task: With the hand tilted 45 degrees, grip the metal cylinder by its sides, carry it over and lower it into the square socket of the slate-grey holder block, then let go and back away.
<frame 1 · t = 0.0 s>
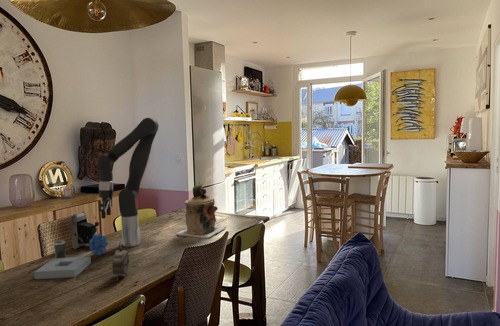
hand: (106, 216, 211), 17 cm above the table, fingers open, 8 cm apart
cookie jar: (201, 232, 234), on the table
metal cylinder: (61, 260, 190), on the table
grapes: (100, 255, 196), on the table
vintage camera: (89, 247, 212), on the table
alarm clock: (122, 277, 163), on the table
holder: (64, 270, 174), on the table
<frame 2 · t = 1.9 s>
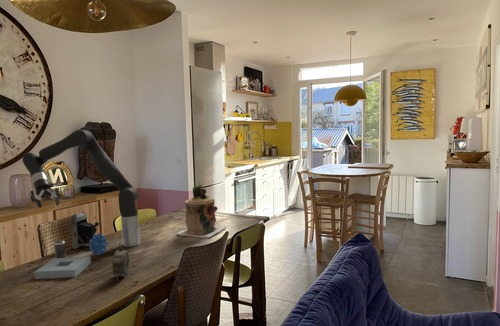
hand: (49, 205, 196), 27 cm above the table, fingers open, 8 cm apart
nothing on the table moved.
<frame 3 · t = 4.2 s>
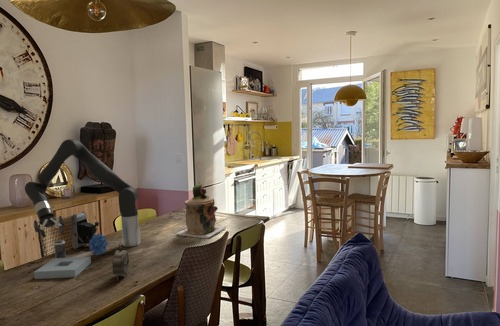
hand: (53, 234, 194), 12 cm above the table, fingers open, 8 cm apart
nothing on the table moved.
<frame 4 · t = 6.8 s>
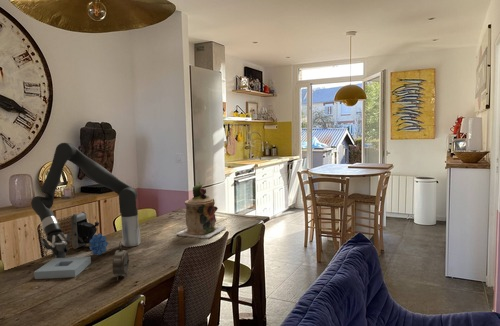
hand: (61, 253, 188), 4 cm above the table, fingers closed on metal cylinder, 4 cm apart
metal cylinder: (61, 260, 190), on the table, touching gripper
everything else where it was.
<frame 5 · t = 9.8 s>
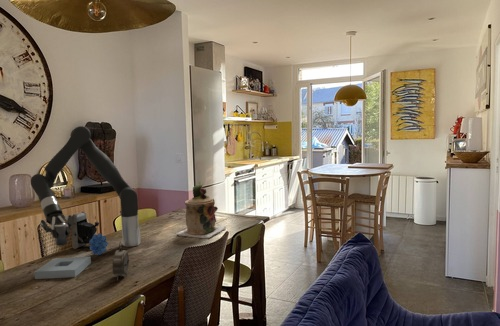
hand: (62, 236, 172), 17 cm above the table, fingers closed on metal cylinder, 4 cm apart
metal cylinder: (61, 243, 173), point 13 cm above the table, touching gripper
everything else where it was.
when the fingers open (6 cm above the table, at t = 13.1 s): metal cylinder drops 1 cm, resting in holder.
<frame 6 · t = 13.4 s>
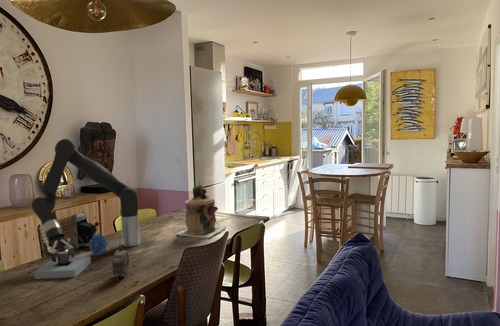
hand: (64, 258, 173), 6 cm above the table, fingers open, 8 cm apart
metal cylinder: (64, 270, 174), resting in holder
everything else where it was.
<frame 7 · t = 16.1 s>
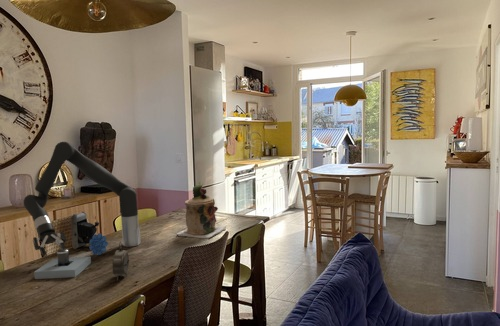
hand: (54, 252, 182), 6 cm above the table, fingers open, 8 cm apart
nothing on the table moved.
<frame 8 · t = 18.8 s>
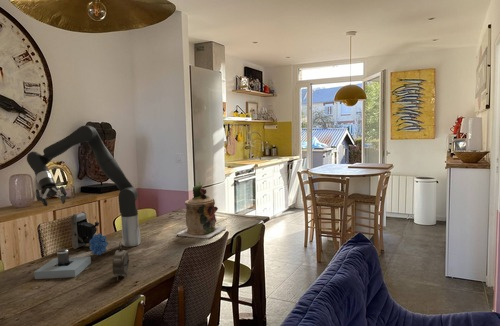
hand: (55, 204, 192), 29 cm above the table, fingers open, 8 cm apart
nothing on the table moved.
at the end: metal cylinder 0.1 cm off-centre on the holder, point 0.0 cm above the holder's base; metal cylinder tilted 0°; the gripper is holding nothing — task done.
